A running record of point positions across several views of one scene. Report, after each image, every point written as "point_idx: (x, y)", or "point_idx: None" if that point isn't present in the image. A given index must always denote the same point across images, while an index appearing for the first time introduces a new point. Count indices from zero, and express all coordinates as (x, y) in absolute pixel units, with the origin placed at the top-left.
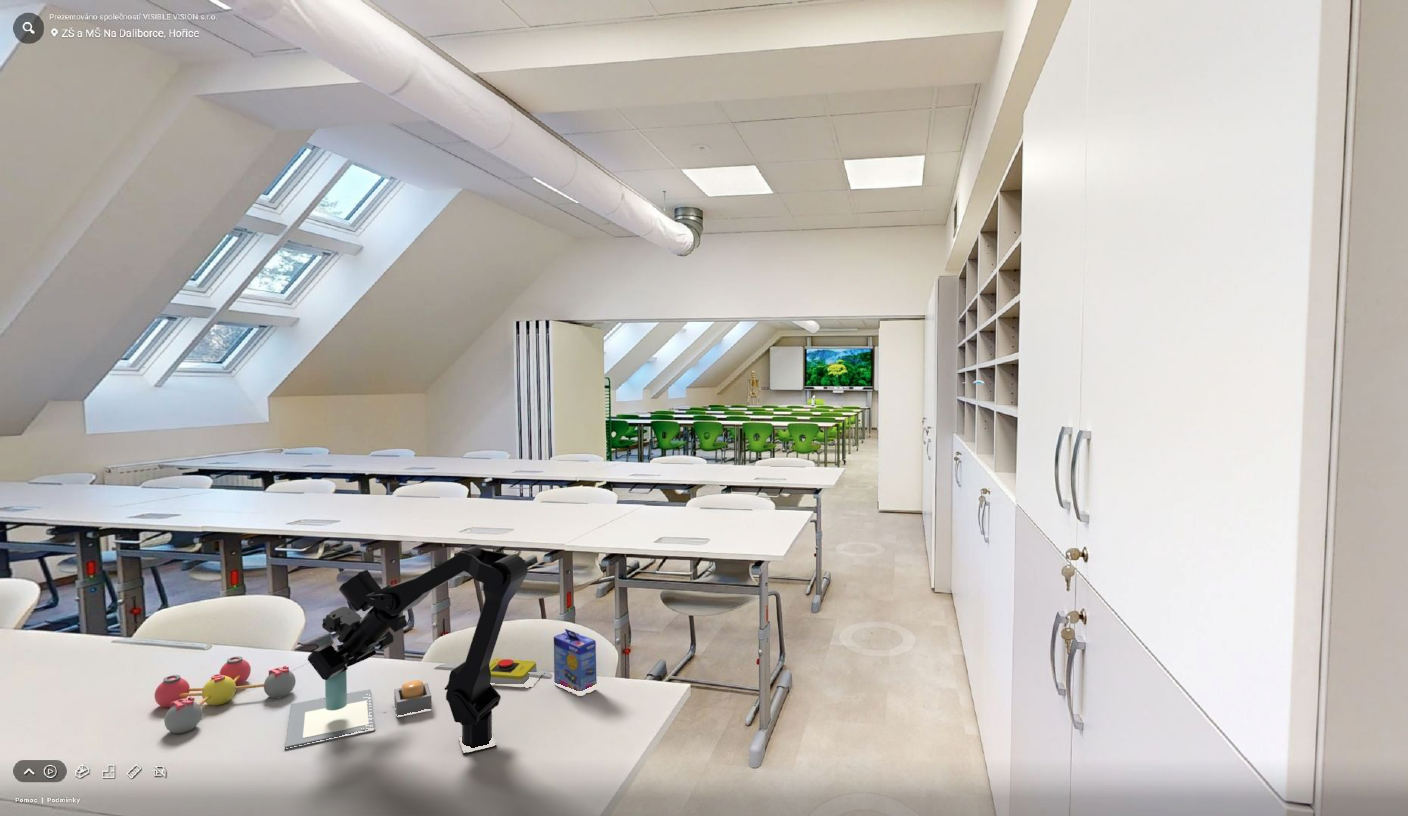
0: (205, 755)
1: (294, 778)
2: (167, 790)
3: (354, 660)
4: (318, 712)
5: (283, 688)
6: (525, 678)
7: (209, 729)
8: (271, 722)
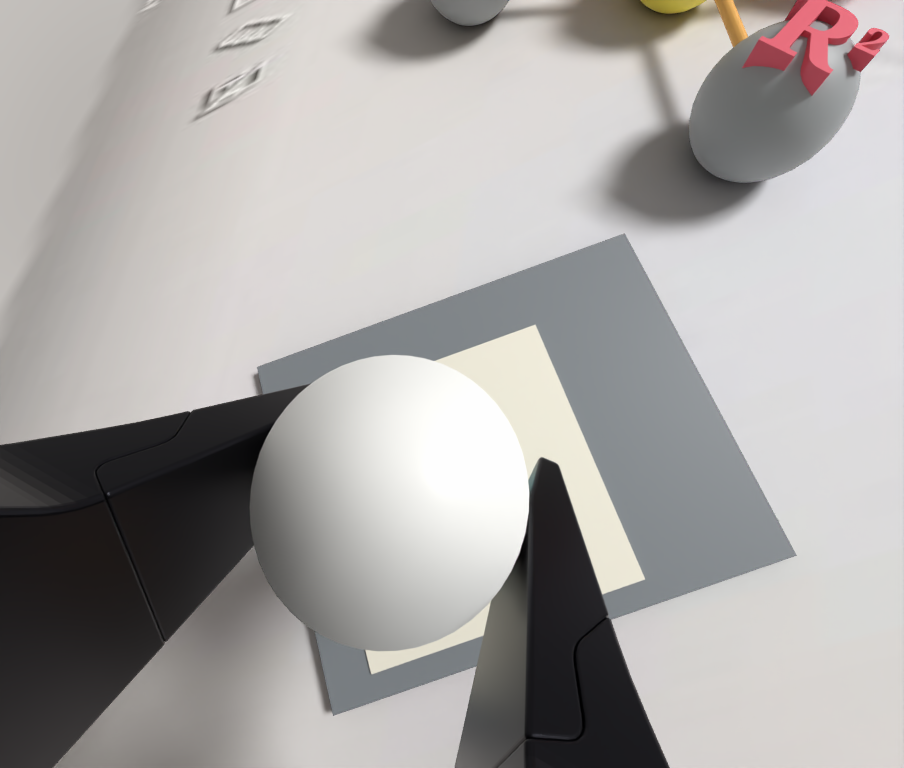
0: (291, 148)
1: None
2: (125, 158)
3: (470, 731)
4: (526, 382)
5: (713, 146)
6: None
7: (462, 72)
8: (487, 232)
